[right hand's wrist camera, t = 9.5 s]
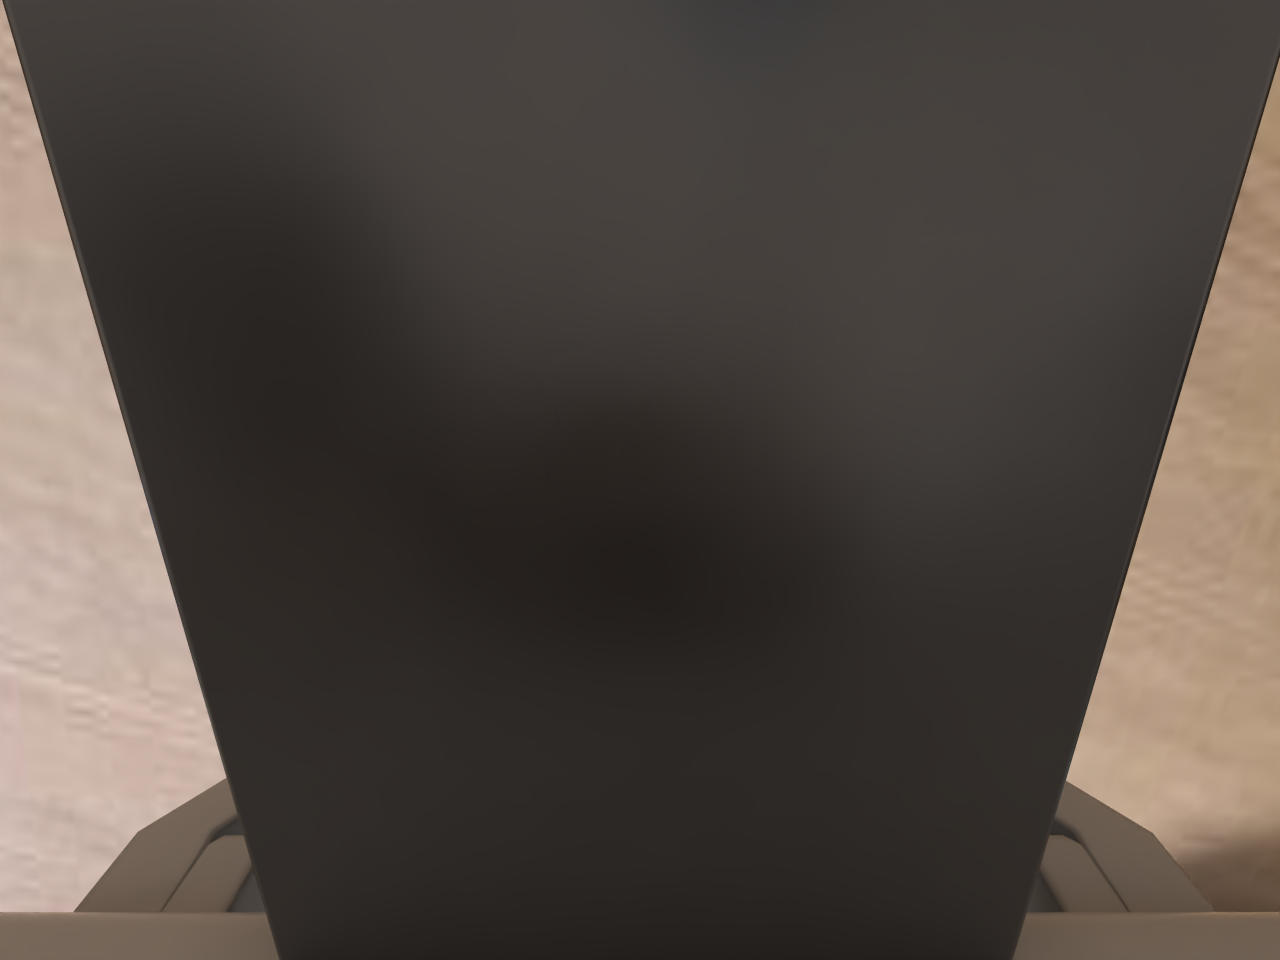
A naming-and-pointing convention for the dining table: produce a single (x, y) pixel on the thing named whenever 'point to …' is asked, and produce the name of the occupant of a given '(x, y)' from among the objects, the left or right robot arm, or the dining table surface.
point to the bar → (647, 435)
